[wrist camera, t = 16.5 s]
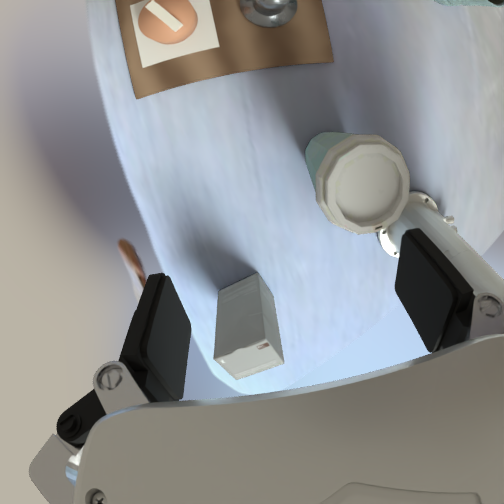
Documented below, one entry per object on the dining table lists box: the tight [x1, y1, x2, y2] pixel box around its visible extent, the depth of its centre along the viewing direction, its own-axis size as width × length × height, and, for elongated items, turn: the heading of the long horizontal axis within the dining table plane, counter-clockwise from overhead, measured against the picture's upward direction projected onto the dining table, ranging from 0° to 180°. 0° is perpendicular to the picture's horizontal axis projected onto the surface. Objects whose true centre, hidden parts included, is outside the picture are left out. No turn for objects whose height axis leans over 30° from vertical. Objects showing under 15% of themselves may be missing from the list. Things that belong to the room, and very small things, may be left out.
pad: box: [130, 0, 219, 68], centre depth 26 cm, size 10×10×1 cm
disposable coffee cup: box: [305, 132, 410, 235], centre depth 32 cm, size 11×11×15 cm
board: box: [115, 0, 334, 99], centre depth 26 cm, size 26×18×1 cm
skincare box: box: [213, 273, 284, 380], centre depth 44 cm, size 8×7×16 cm
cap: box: [138, 0, 198, 45], centre depth 24 cm, size 6×6×5 cm
